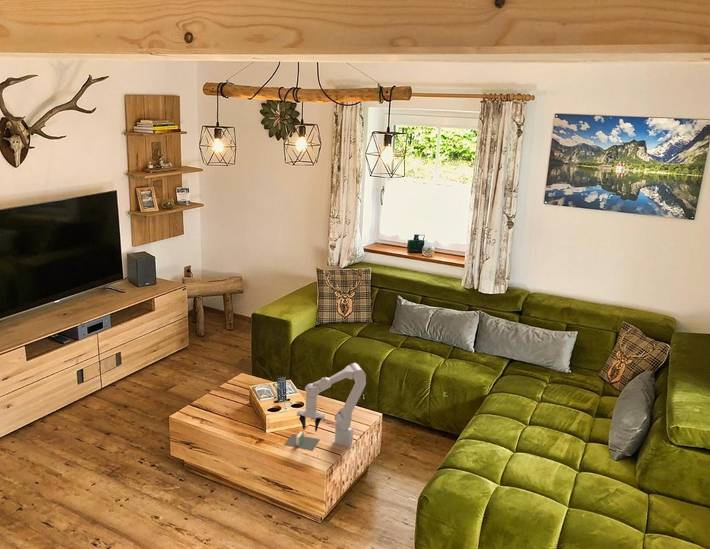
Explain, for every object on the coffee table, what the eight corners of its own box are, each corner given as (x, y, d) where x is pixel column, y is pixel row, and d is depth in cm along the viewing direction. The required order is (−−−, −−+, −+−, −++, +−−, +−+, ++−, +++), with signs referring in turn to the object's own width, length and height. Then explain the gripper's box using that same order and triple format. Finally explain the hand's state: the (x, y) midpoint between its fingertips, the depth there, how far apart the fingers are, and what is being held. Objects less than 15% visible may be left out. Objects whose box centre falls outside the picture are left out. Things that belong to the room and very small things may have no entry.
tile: (303, 440, 332) (303, 431, 331) (299, 446, 327) (299, 437, 325) (300, 439, 333) (300, 431, 331) (295, 445, 327) (296, 436, 326)
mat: (320, 440, 334) (320, 439, 334) (312, 451, 323) (312, 450, 323) (292, 434, 338) (292, 433, 338) (283, 445, 327) (283, 444, 327)
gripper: (326, 404, 325) (325, 427, 328) (299, 400, 327) (299, 423, 331) (323, 411, 318) (322, 434, 322) (295, 406, 321) (295, 430, 324)
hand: (310, 429), depth 326 cm, fingers open, 6 cm apart
